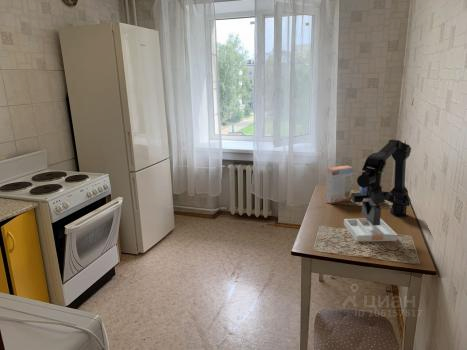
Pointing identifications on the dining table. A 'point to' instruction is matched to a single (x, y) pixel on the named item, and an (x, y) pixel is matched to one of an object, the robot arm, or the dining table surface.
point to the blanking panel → (372, 213)
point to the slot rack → (369, 230)
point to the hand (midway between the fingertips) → (370, 214)
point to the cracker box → (339, 184)
